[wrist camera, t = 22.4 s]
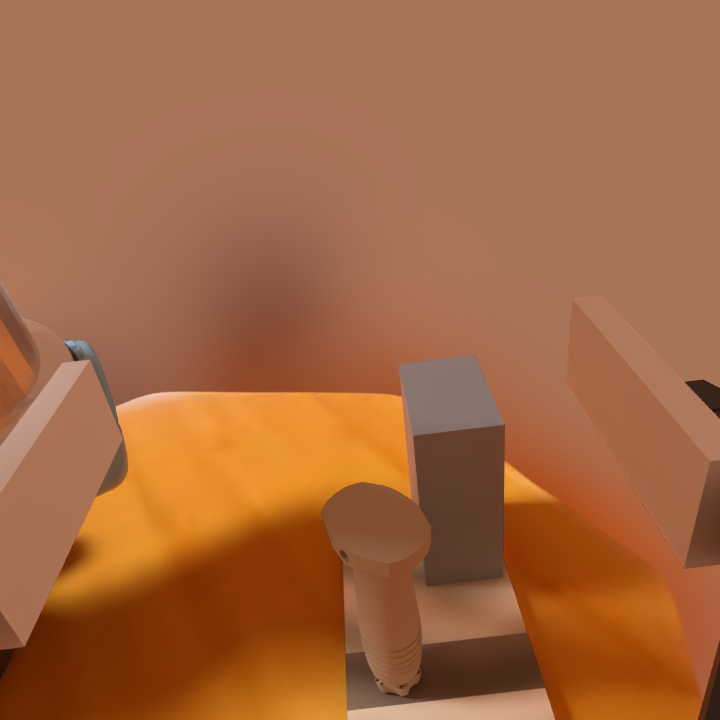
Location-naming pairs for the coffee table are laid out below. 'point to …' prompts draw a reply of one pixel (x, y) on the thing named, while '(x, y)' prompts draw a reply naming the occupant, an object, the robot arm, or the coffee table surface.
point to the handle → (382, 575)
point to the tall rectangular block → (456, 467)
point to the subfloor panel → (454, 657)
